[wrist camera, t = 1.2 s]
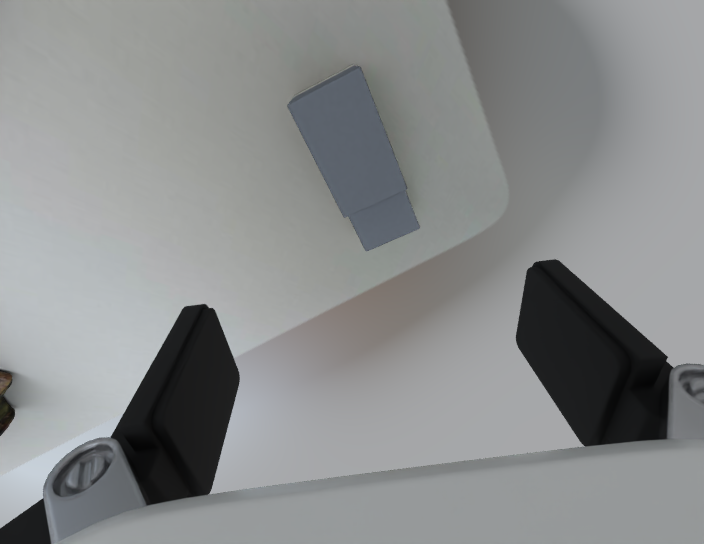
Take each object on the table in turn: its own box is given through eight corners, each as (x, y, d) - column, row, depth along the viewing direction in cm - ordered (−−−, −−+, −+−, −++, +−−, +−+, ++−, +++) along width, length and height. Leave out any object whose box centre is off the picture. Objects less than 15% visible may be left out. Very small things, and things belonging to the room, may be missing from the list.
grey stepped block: (293, 96, 23) (285, 106, 19) (354, 63, 23) (361, 65, 18) (361, 234, 29) (368, 268, 24) (412, 211, 28) (429, 242, 23)
